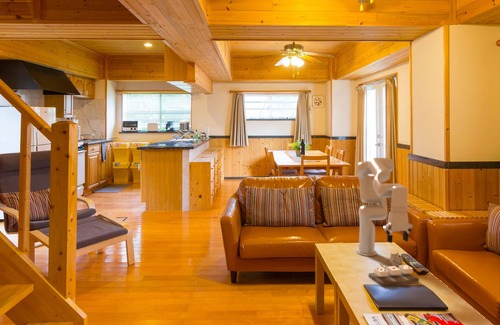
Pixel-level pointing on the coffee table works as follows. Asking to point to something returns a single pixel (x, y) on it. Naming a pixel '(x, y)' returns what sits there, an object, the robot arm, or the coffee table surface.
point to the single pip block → (393, 270)
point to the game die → (396, 260)
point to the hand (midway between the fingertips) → (397, 241)
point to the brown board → (393, 279)
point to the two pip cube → (406, 269)
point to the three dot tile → (381, 271)
